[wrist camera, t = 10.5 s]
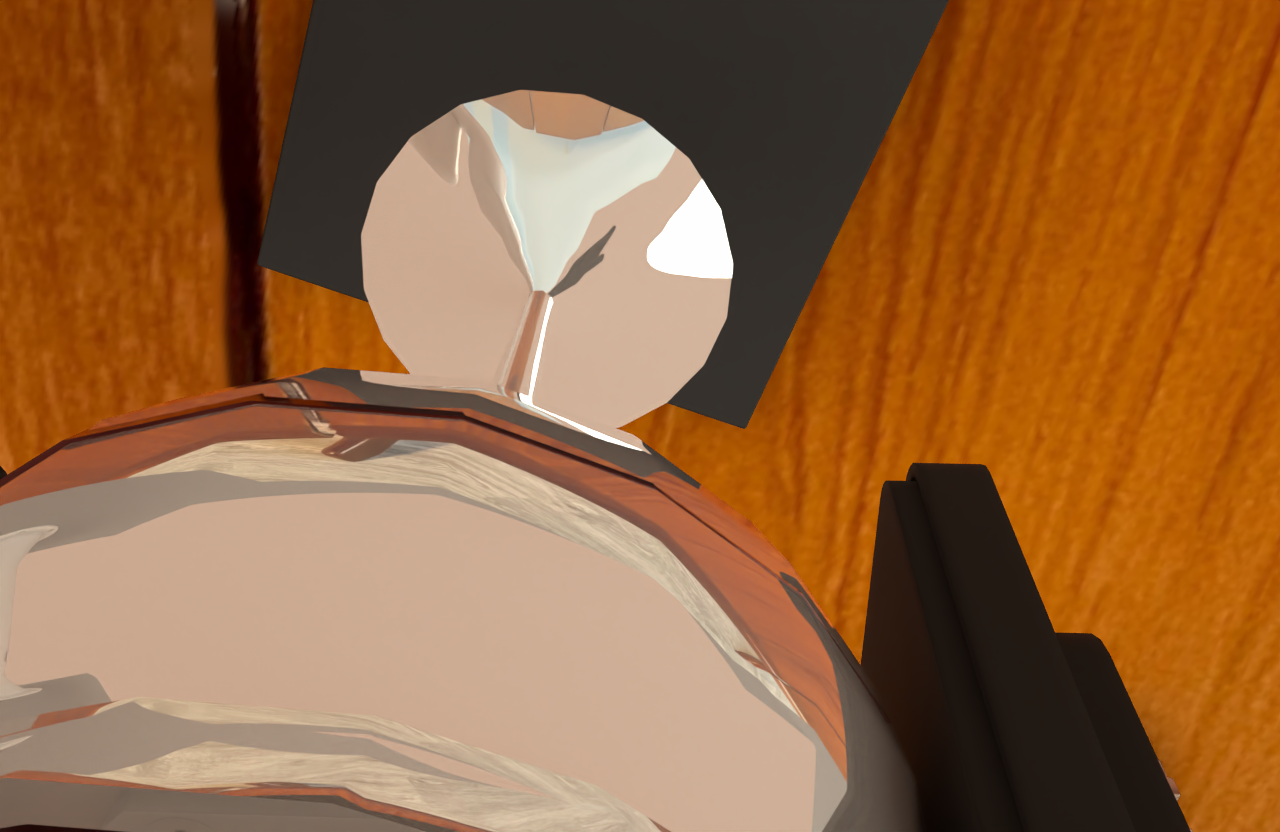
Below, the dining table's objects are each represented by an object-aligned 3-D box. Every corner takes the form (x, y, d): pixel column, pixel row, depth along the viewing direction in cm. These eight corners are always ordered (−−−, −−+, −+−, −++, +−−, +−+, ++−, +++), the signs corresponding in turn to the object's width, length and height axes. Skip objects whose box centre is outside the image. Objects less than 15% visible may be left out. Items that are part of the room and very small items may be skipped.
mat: (263, 256, 25) (256, 265, 25) (387, -318, 20) (380, -318, 19) (744, 419, 27) (745, 430, 26) (977, -74, 21) (983, -71, 21)
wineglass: (904, 304, 16) (1314, 1389, 5) (537, 565, 18) (327, 1669, 8) (558, -114, 13) (89, 368, 3) (188, 249, 16) (-793, 1222, 5)
